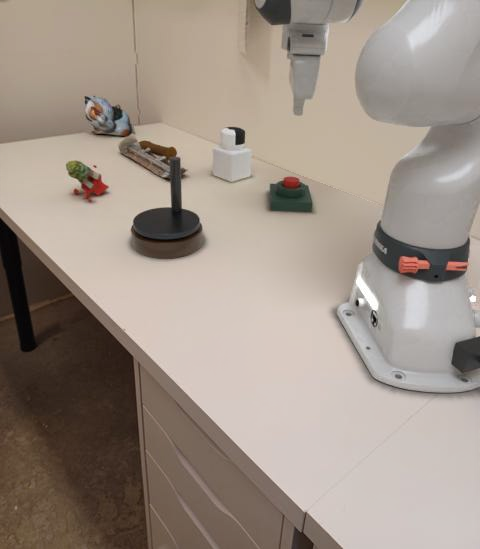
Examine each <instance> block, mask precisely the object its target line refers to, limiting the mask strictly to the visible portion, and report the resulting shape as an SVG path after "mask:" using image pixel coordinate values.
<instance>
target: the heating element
mask: <svg viewBox="0 0 480 549" xmlns="http://www.w3.org/2000/svg"><path fill="white" fill-rule="evenodd" d="M139 142H140V141H139V140H138V139H137V137H136V136H135V135H134V132H132V133H131V134H130V135H128V136H126V137H124V139H122V141H120V142H118V143H117V147H118V150H119V152H120V153H121V154H122V155H124V156H125V157H127V158H130V159H132V160H133V161H135V162H137V163H138V164H140V165H141V166H143V167H145V169H147V170H150V171H151V172H152V173H153V174H155V175H156V176H158V177H161V178H164V179H166V178H168V179H170V163H169V159H168V158H167V157H166V156H164V155H161V157H159V156H158V157H157V156H156V155H154V153H153V152H152V151H151V150H150V148H147V149H142V148H141V146H140V144H139ZM187 171H188V169H185V167H184V166H181V176H182V175H183V174H184V173H186V172H187Z"/></svg>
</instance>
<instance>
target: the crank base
mask: <svg viewBox="0 0 480 549" xmlns="http://www.w3.org/2000/svg"><path fill="white" fill-rule="evenodd" d="M203 228H204V227H203V225H202V223H201V222H200V226H199V229H198V230H197V231H196V232H194V233H193V234H191V235H188V236H186V237H182V238H177V239H153V238H148V237H145V236H142V235H140V234H138V233H137V232H136V231H135V230H134V227H133V224H132V225H131V228H130V235H131V246H132V248H133V250H135V252H136V253H138V254H140V255H142V256H145V257H149V258H152V259H153V258H154V259H161V260H162V259H163V260H164V259H165V260H167V259H168V260H169V259H177V258H182V257H187V256H189V255H192V254H194V253H196V252H197V251H199V250H200V249H201V248H202V246H203V241H204V240H203V239H204V238H203V236H204V235H203V234H204V232H203Z"/></svg>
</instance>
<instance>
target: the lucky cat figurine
mask: <svg viewBox="0 0 480 549" xmlns="http://www.w3.org/2000/svg"><path fill="white" fill-rule="evenodd" d="M84 104H85V108H84V113H85V119H86V120H87V122H88V123H89V124H90V125H91V126H92V127H93V130H94V134H96V135H102V134H103V135H113V136H118V137H124V138H126V137H128V136H129V135H131V134H132V133H134V132H135V127H134V125H133V124H132V123H131V120H130V116H129V114H128V113H127V112H126V111H125V110H123V109H122V108H121V105H120V104H119V103H116V104H115V106H113V105H111V103H110V102H109V101H108V99H106V98H105V97H101V96H100V97H96V96H95V95H94V94H92V95H89V96H87V95H84Z"/></svg>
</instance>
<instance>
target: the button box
mask: <svg viewBox="0 0 480 549" xmlns="http://www.w3.org/2000/svg"><path fill="white" fill-rule="evenodd" d="M268 192H269V194H268V195H269V210H270V211H278V212H279V211H281V212H298V213H299V212H301V213H302V212H303V213H312V212H313V199H312V195H311V191H310V187H309V185H308V184H306V183H303V182H302V181H300V182H299V188H286V187H284V186H283V180H279V181H278V182H276V183H269V191H268Z"/></svg>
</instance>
